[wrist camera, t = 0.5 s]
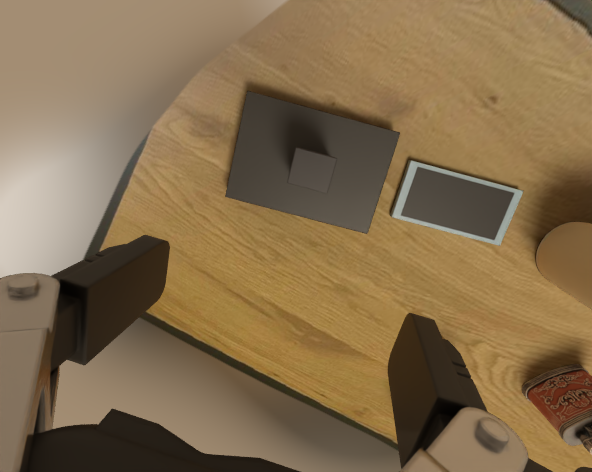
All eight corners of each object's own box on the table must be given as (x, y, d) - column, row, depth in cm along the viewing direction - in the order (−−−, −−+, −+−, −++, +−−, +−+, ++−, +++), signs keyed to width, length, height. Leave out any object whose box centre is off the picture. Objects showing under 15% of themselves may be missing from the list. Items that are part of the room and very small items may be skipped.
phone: (389, 215, 39) (391, 217, 38) (408, 159, 38) (411, 160, 37) (495, 243, 40) (500, 245, 39) (518, 189, 38) (524, 191, 37)
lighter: (526, 402, 45) (586, 471, 36) (518, 382, 45) (577, 448, 35) (587, 379, 44) (666, 444, 35) (579, 359, 44) (658, 419, 34)
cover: (230, 193, 39) (203, 210, 29) (251, 94, 36) (230, 73, 26) (363, 228, 40) (383, 256, 30) (393, 133, 37) (428, 128, 27)
